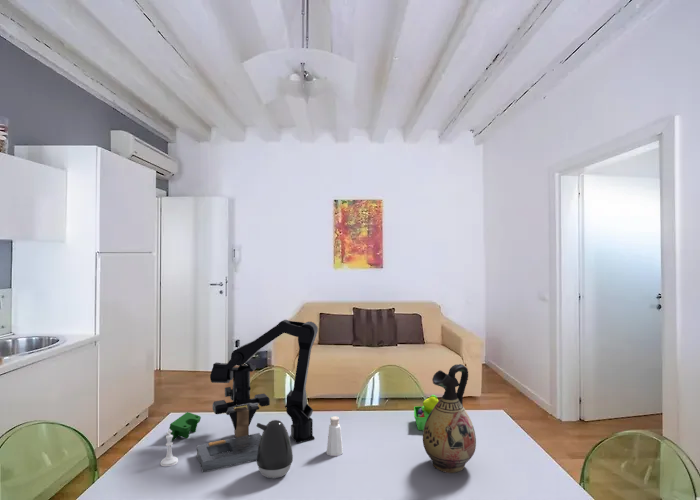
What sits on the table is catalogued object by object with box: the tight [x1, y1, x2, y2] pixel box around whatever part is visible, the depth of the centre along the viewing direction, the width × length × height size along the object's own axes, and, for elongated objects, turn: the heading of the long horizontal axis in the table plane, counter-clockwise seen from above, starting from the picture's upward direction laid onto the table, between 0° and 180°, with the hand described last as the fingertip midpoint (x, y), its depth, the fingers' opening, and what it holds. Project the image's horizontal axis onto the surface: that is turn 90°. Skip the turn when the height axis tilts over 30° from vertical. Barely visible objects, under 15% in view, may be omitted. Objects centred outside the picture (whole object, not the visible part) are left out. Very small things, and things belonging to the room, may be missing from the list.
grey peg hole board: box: [196, 432, 262, 473], centre depth 131 cm, size 20×12×3 cm, turn 118°
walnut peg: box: [233, 406, 250, 438], centre depth 147 cm, size 4×4×9 cm
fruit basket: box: [413, 394, 439, 431], centre depth 155 cm, size 11×9×11 cm
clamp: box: [168, 411, 202, 441], centre depth 148 cm, size 12×6×9 cm, turn 166°
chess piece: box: [160, 428, 179, 468], centre depth 127 cm, size 5×5×10 cm
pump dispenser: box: [256, 419, 294, 479], centre depth 121 cm, size 10×10×15 cm
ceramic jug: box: [422, 363, 477, 474], centre depth 125 cm, size 17×15×30 cm
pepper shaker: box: [326, 415, 344, 457], centre depth 134 cm, size 5×5×11 cm
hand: (241, 428), depth 147 cm, fingers closed on walnut peg, 4 cm apart
